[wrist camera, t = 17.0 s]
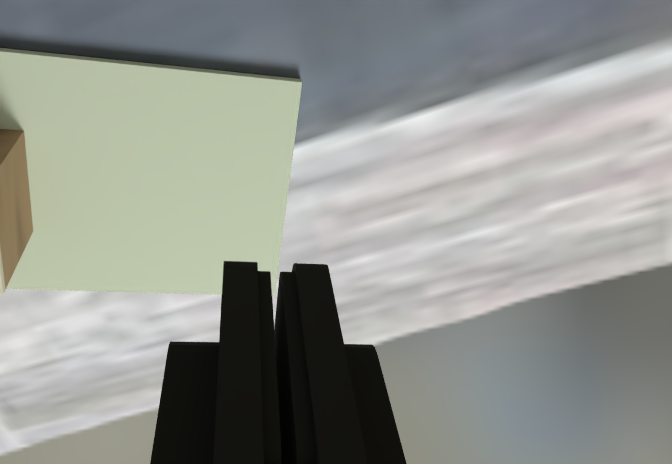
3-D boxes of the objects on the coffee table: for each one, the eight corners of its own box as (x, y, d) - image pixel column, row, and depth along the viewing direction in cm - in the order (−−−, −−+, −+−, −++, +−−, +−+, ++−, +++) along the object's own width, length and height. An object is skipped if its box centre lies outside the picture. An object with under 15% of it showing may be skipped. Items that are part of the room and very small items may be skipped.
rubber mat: (300, 78, 34) (302, 82, 34) (273, 290, 41) (274, 295, 40) (-193, 27, 29) (-200, 31, 29) (-130, 278, 36) (-135, 284, 35)
